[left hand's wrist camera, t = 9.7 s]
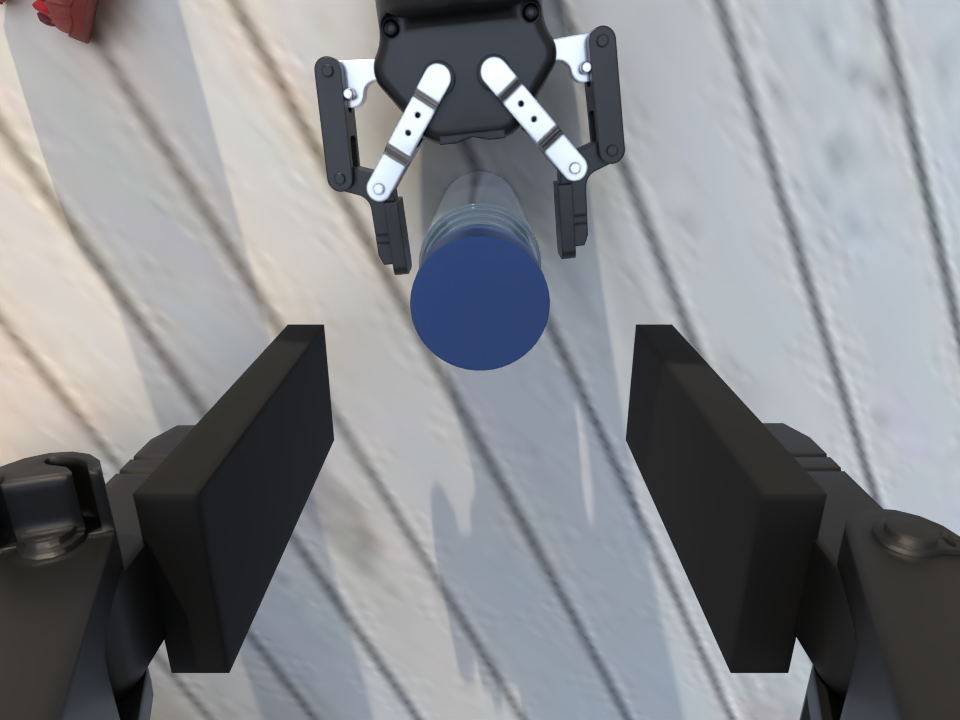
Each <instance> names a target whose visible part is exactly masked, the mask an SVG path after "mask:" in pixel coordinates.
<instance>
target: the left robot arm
mask: <svg viewBox="0 0 960 720" xmlns="http://www.w3.org/2000/svg"><path fill="white" fill-rule="evenodd" d="M333 441H334V433H333V421H332V410H331V399H330V388H329V376H328V365H327V354H326V343H325V331H324V325H287V326H286V328H285V329H284V330H283V331H282V332H281V333H280V334H279V335H278V336H277V337H276V338H275V339H274V341H273V342H272V343H271V344H270V345H269V346H268V347H267V348H266V349H265V350H264V351H263V353H262V354H261V355H260V356H259V357H258V358H257V359H256V360H255V361H254V362H253V363H252V365H251V366H250V367H249V368H248V369H247V370H246V371H245V372H244V373H243V374H242V375H241V377H240V378H239V379H238V380H237V381H236V382H235V383H234V384H233V385H232V386H231V387H230V389H229V390H228V391H227V392H226V393H225V394H224V395H223V396H222V397H221V398H220V399H219V401H218V402H217V403H216V404H215V405H214V406H213V407H212V408H211V409H210V410H209V411H208V413H207V414H206V415H205V416H204V417H203V418H202V419H201V420H200V421H199V422H198V423H197V425H177V426H175V427H174V428H172V429H170V430H168V431H166V432H164V433H162V434H161V435H159V436H157V437H155V438H153V439H151V440H150V441H149V442H148V443H147V444H146V445H145V446H144V447H143V448H142V449H141V450H140V451H139V452H138V453H137V454H136V455H135V456H134V460H130V461H129V462H128V463H127V464H126V465H125V466H124V467H123V468H122V469H121V470H120V474H115V475H114V476H113V477H112V478H111V479H110V480H109V481H108V482H107V483H106V484H105V481H104V477H103V473H102V469H101V464H100V460H98V459H96V458H95V457H93V456H92V455H90V454H85V453H78V452H59V453H48V454H43V455H38V456H33V457H29V458H24V459H21V460H18V461H16V462H13V463H10V464H7V465H4V466H1V467H0V720H150V715H151V708H152V701H153V689H152V682H151V678H150V673H149V669H148V665H149V664H150V662H151V660H152V659H153V657H154V655H155V654H156V652H157V650H158V649H159V647H160V645H161V644H162V642H163V640H165V644H166V649H167V653H168V658H169V663H170V667H171V672H172V673H229V672H230V670H231V668H232V666H233V664H234V661H235V659H236V657H237V655H238V652H239V650H240V648H241V646H242V644H243V641H244V639H245V637H246V635H247V632H248V630H249V628H250V626H251V623H252V621H253V619H254V617H255V615H256V612H257V610H258V608H259V606H260V603H261V601H262V599H263V597H264V595H265V592H266V590H267V588H268V586H269V583H270V581H271V579H272V577H273V575H274V572H275V570H276V568H277V566H278V563H279V561H280V559H281V557H282V555H283V552H284V550H285V548H286V546H287V543H288V541H289V539H290V537H291V535H292V532H293V530H294V528H295V526H296V523H297V521H298V519H299V517H300V515H301V512H302V510H303V508H304V506H305V503H306V501H307V499H308V497H309V495H310V492H311V490H312V488H313V486H314V483H315V481H316V479H317V477H318V475H319V472H320V470H321V468H322V466H323V463H324V461H325V459H326V457H327V455H328V452H329V450H330V448H331V446H332V443H333ZM626 441H627V443H628V446H629V448H630V450H631V452H632V455H633V457H634V459H635V461H636V463H637V466H638V468H639V470H640V472H641V475H642V477H643V479H644V481H645V483H646V486H647V488H648V490H649V492H650V495H651V497H652V499H653V501H654V503H655V506H656V508H657V510H658V512H659V515H660V517H661V519H662V521H663V523H664V526H665V528H666V530H667V532H668V535H669V537H670V539H671V541H672V543H673V546H674V548H675V550H676V552H677V555H678V557H679V559H680V561H681V563H682V566H683V568H684V570H685V572H686V575H687V577H688V579H689V581H690V583H691V586H692V588H693V590H694V592H695V595H696V597H697V599H698V601H699V603H700V606H701V608H702V610H703V612H704V615H705V617H706V619H707V621H708V623H709V626H710V628H711V630H712V632H713V635H714V637H715V639H716V641H717V644H718V646H719V648H720V650H721V652H722V655H723V657H724V659H725V661H726V664H727V666H728V668H729V670H730V672H731V673H788V672H789V667H790V662H791V658H792V653H793V649H794V644H795V640H796V637H797V639H798V640H799V642H800V644H801V645H802V647H803V649H804V650H805V652H806V653H807V655H808V657H809V658H810V660H811V662H812V663H813V665H812V669H811V673H810V678H809V682H808V686H807V690H806V695H805V699H804V703H803V708H802V712H801V716H800V720H960V536H958V535H956V534H955V533H953V532H952V531H950V530H949V529H947V528H945V527H944V526H942V525H940V524H937V523H935V522H932V521H930V520H928V519H925V518H923V517H920V516H917V515H913V514H909V513H905V512H901V511H897V510H887V509H882V508H881V507H880V506H879V505H878V504H877V503H876V502H875V501H874V500H873V499H872V498H871V497H870V496H869V495H868V494H867V493H866V492H865V491H864V490H863V489H862V488H861V487H860V486H859V485H858V484H857V483H856V482H855V481H854V480H853V479H852V478H851V477H850V476H849V475H848V474H847V473H846V472H845V471H841V468H840V467H839V466H838V465H837V464H836V463H835V462H834V461H833V460H832V459H831V458H830V457H827V454H826V453H825V452H824V451H823V450H822V449H821V448H820V447H819V446H818V445H817V444H816V443H815V442H814V441H813V440H812V439H811V438H810V437H808V436H806V435H804V434H802V433H800V432H799V431H797V430H795V429H793V428H791V427H789V426H787V425H785V424H783V423H762V422H761V421H760V420H759V419H758V418H757V417H756V416H755V415H754V414H753V413H752V411H751V410H750V409H749V408H748V407H747V406H746V405H745V404H744V403H743V402H742V401H741V399H740V398H739V397H738V396H737V395H736V394H735V393H734V392H733V391H732V390H731V389H730V387H729V386H728V385H727V384H726V383H725V382H724V381H723V380H722V379H721V378H720V377H719V375H718V374H717V373H716V372H715V371H714V370H713V369H712V368H711V367H710V366H709V365H708V363H707V362H706V361H705V360H704V359H703V358H702V357H701V356H700V355H699V354H698V353H697V351H696V350H695V349H694V348H693V347H692V346H691V345H690V344H689V343H688V342H687V341H686V339H685V338H684V337H683V336H682V335H681V334H680V333H679V332H678V331H677V330H676V329H675V327H674V326H673V325H636V331H635V343H634V354H633V365H632V376H631V388H630V399H629V410H628V421H627V433H626Z"/></svg>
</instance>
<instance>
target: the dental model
mask: <svg viewBox="0 0 960 720" xmlns="http://www.w3.org/2000/svg"><path fill="white" fill-rule="evenodd" d="M3 2H5V0H0V4H3ZM97 4H98V0H37V1H35V2H34V3H33V4H32V5H33V7H34V8H35V9H36V10H37V11H39V13H37V15H38V18H39V20H40V21H41V22H43V23H44V24H46V25H49V26H56V27H57V28H58V29H59V30H61V31H63V32H65V33H68V34H69V37H72V38H74V39H77V40H79V41H82V42H85V43H89V42H90V39H91V34H92V29H93V24H94V19H95V14H96V9H97Z"/></svg>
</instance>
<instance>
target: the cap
mask: <svg viewBox="0 0 960 720" xmlns="http://www.w3.org/2000/svg"><path fill="white" fill-rule="evenodd" d="M410 306H411V315H412V320H413V323H414V326H415V329H416V331H417V333H418V335H419V336H420V338H421V340H422V341H423V343H424V344H425V345H426V346H427V347H428V348H429V350H431V351H432V352H433V353H434V354H435V355H436V356H438V357H439V358H441V359H442V360H444V361H445V362H447V363H449V364H451V365H454V366H457V367H460V368H464V369H469V370H491V369H496V368H500V367H503V366H506V365H508V364H511V363H513V362H514V361H516V360H518V359H520V358H521V357H522V356H524V355H525V354H526V353H527V352H528V351H529V350H530V349H532V347H533V346H534V345H535V344H536V342H537V341H538V340H539V338H540V336H541V335H542V333H543V331H544V328H545V326H546V323H547V320H548V315H549V306H550V299H549V291H548V287H547V283H546V280H545V278H544V275H543V273H542V270H541V268H540V265H539V263H538V261H537V259H536V257H535V255H534V254H533V252H532V251H531V250H530V248H529V247H528V246H527V245H526V244H525V243H524V242H523V241H522V240H521V239H519V238H518V237H517V236H515V235H513V234H512V233H510V232H508V231H506V230H503V229H501V228H497V227H493V226H486V225H474V226H467V227H463V228H460V229H457V230H454V231H452V232H450V233H448V234H447V235H445V236H443V237H442V238H441V239H439V240H438V241H437V242H436V243H435V244H434V245H433V246H432V247H431V248H430V249H429V251H428V252H427V254H426V255H425V257H424V259H423V261H422V263H421V265H420V268H419V270H418V273H417V275H416V278H415V280H414V283H413V287H412V291H411V299H410Z"/></svg>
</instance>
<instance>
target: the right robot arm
mask: <svg viewBox="0 0 960 720" xmlns="http://www.w3.org/2000/svg"><path fill="white" fill-rule="evenodd" d="M375 1H376V8H377V15H378V22H379V30H380V42H379V48H378V52H377V55H376V57H375V59H368V60H346V61H340V60H337V59H335V58H332V57H329V56H324V57H321V58H320V59H319V60H318V61H317V62H316V64H315V79H316V87H317V96H318V104H319V112H320V121H321V129H322V137H323V146H324V154H325V162H326V171H327V179H328V183H329V185H330V186H331V188H333V189H334V190H336V191H339V192H343V191H345V192H349V193H353V194H357V195H360V196H362V197H364V198H365V199H366V200H367V201H368V202H369V204H370V206H371V209H372V215H373V222H374V228H375V234H376V241H377V247H378V253H379V257H380V258H381V260H382V262H383V263H384V265H387V264H393V269H394V273H395V275H401V274H409V272H410V270H411V267H412V263H411V254H410V247H409V240H408V233H407V226H406V219H405V212H404V204H403V197H402V196H401V197H398V194H397V187H398V185H399V184H400V182H401V180H402V178H403V176H404V174H405V173H406V171H407V169H408V167H409V165H410V164H411V162H412V160H413V159H414V157H415V155H416V154H417V152H418V150H419V148H420V146H421V145H422V143H423V141H424V139H425V137H426V138H427V139H429V140H430V141H433V142H435V143H440V145H444V144H453V143H458V142H460V141H463V140H465V139H468V138H470V137H477V138H483V139H489V140H490V139H500V138H505V137H506V136H508V135H510V134H512V133H513V132H514V131H516V130H517V129H518V128H519V127H520V128H521V129H522V130H523V131H524V133H525V134H526V135H527V136H528V137H529V138H530V140H531V141H532V142H533V143H534V144H535V145H536V146H537V147H538V148H539V150H540V151H541V152H542V153H543V154H544V155H545V157H546V158H547V159H548V160H549V161H550V162H551V164H552V165H553V166H554V167H555V168H556V169H557V177H558V181H553V183H554V200H555V216H556V233H557V247H558V253H559V255H560V257H561V259H567V258H575V256H576V247H575V246H581V245H585V242H586V239H587V236H588V227H587V204H586V182H587V179H588V177H589V176H590V175H591V174H592V173H593V172H594V171H596V170H598V169H600V168H602V167H604V166H606V165H608V164H614V163H617V162H618V161H620V160H621V159H622V157H623V155H624V152H625V145H624V133H623V121H622V108H621V96H620V84H619V72H618V59H617V47H616V37H615V33H614V31H613V30H612V29H611V28H609V27H607V26H599V27H597V28H595V29H593V30H592V31H590V32H589V33H584V34H578V35H573V36H567V37H562V38H556V39H553V38H552V36H551V35H550V33H549V31H548V29H547V27H546V25H545V21H544V17H543V9H542V0H375ZM555 62H561V63H563V64H565V65H566V67H567V68H568V70H569V74H570V77H571V78H572V80H573V81H575V82H577V83H585V92H586V102H587V112H588V122H589V132H590V142H589V143H587V144H585V145H583V146H581V147H579V148H577V149H576V148H575V147H574V146H573V145H572V144H571V142H570V141H569V140H568V139H567V138H566V136H565V135H564V134H563V133H562V131H561V130H560V128H559V127H558V126H557V125H556V123H555V122H554V121H553V120H552V119H551V117H550V116H549V115H548V114H547V113H546V111H545V110H544V109H543V108H542V107H541V105H540V104H539V103H538V102H537V101H536V97H537V95H538V94H539V92H540V90H541V88H542V87H543V85H544V83H545V81H546V79H547V78H548V76H549V74H550V72H551V71H552V69H553V67H554V65H555ZM374 82H378V84H379V86H380V87H381V88H382V89H383V90H384V91H385V93H386V94H387V95H388V96H389V97H390V98H391V99H392V101H393V102H394V103H395V104H396V105H397V106H398V107H399V109H400V110H401V111H402V112H403V115H402V117H401V119H400V121H399V123H398V124H397V126H396V128H395V130H394V132H393V134H392V136H391V138H390V139H389V141H388V143H387V145H386V148H385V151H384V153H383V155H382V157H381V159H380V160H379V162H378V164H377V166H376V168H375V170H373V169H369V168H365V167H361V166H360V160H359V150H358V140H357V130H356V120H355V111H354V108H359V107H361V106H362V105H363V104H364V103H365V101H366V98H367V90H368V88H369V86H370V85H371V84H372V83H374Z"/></svg>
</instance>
